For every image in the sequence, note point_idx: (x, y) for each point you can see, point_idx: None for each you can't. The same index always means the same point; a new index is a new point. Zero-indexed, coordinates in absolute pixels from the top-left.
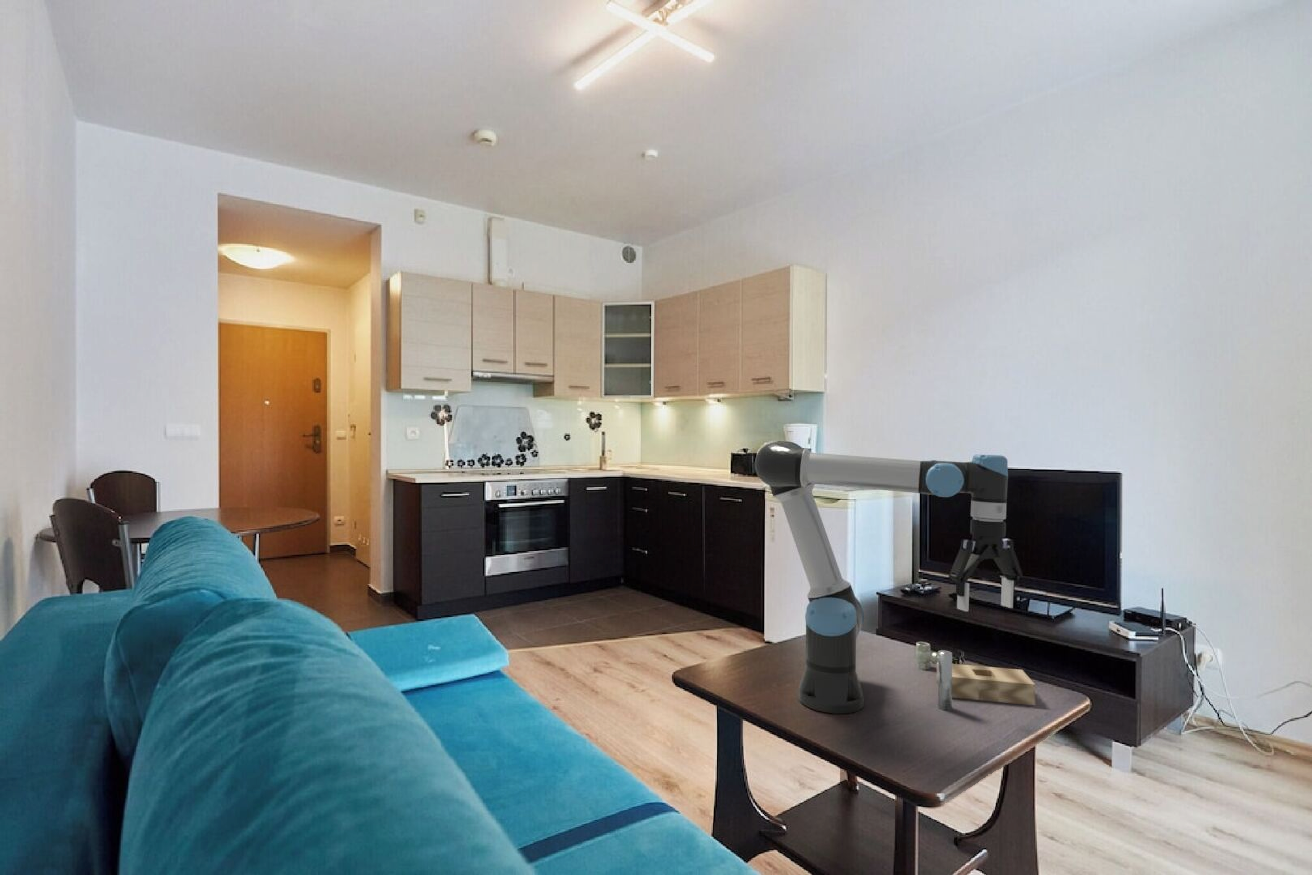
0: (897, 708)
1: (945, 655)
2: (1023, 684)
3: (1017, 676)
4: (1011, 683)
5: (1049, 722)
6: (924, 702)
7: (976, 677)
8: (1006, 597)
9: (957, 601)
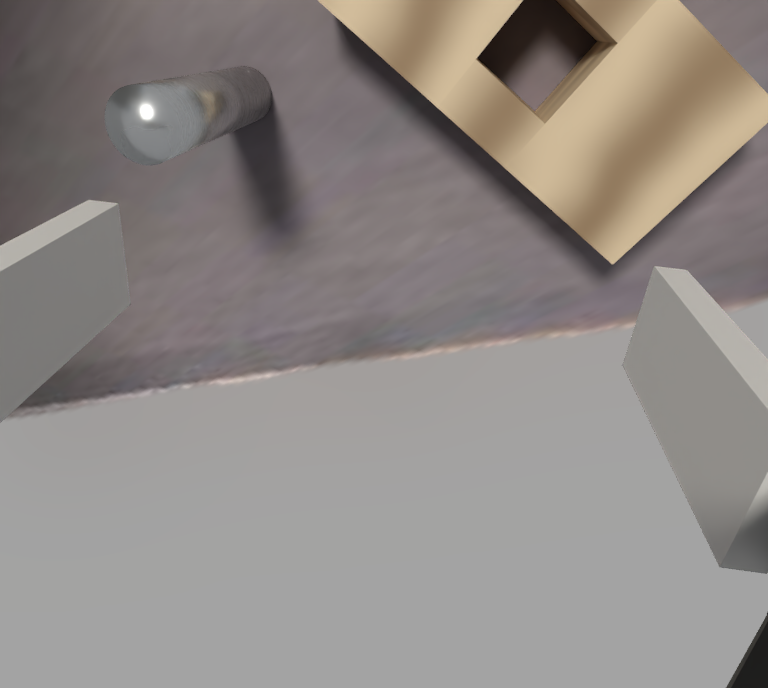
0: (58, 11)
1: (125, 151)
2: (579, 232)
3: (649, 165)
4: (543, 201)
5: (489, 340)
6: (204, 11)
7: (450, 84)
8: (663, 369)
9: (51, 223)
